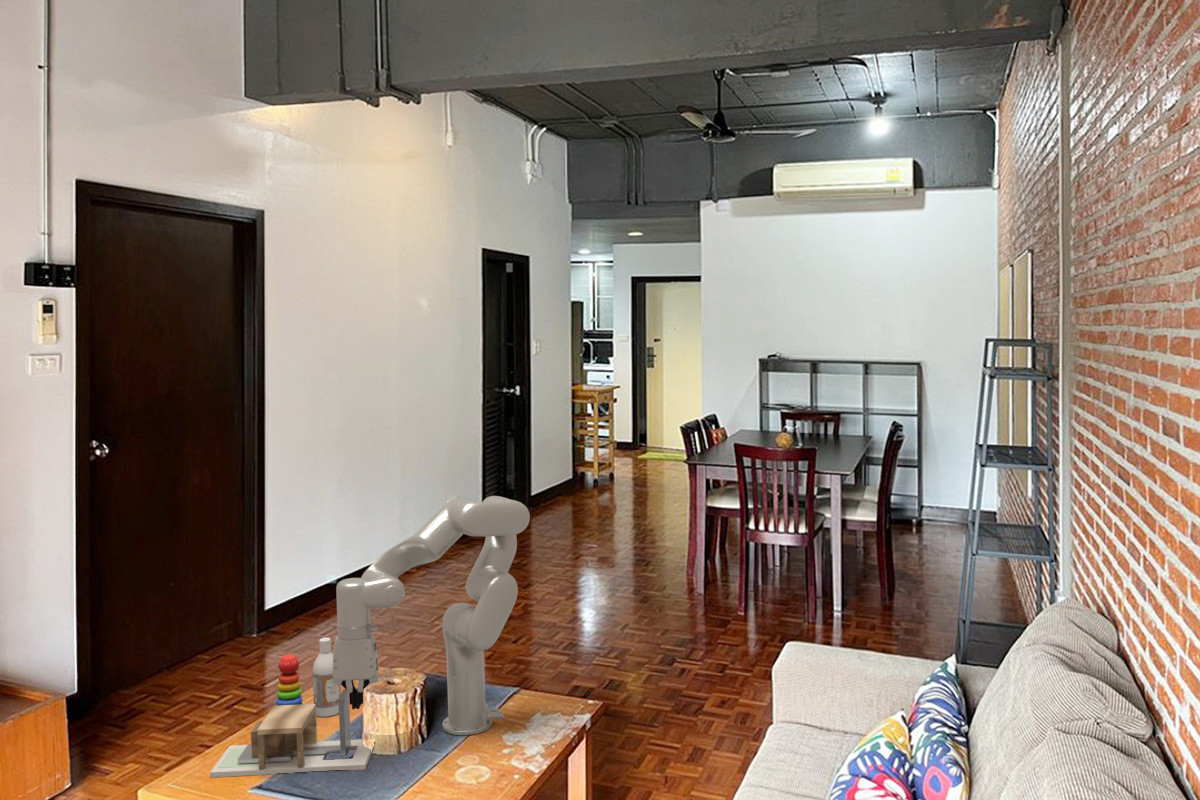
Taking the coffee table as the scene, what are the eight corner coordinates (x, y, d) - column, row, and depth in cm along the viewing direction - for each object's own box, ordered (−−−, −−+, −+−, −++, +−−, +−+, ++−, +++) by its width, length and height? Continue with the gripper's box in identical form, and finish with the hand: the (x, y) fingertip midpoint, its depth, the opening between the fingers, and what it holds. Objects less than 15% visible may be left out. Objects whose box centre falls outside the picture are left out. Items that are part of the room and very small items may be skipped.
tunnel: (317, 741, 230) (315, 703, 230) (303, 767, 216) (301, 727, 216) (275, 743, 230) (274, 705, 229) (259, 769, 216) (257, 729, 215)
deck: (375, 743, 231) (375, 738, 231) (365, 769, 217) (364, 764, 217) (229, 750, 229) (229, 745, 229) (210, 777, 215) (209, 772, 215)
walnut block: (284, 744, 226) (283, 720, 225) (278, 755, 220) (277, 730, 219) (259, 745, 225) (258, 721, 225) (251, 756, 219) (250, 731, 219)
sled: (351, 743, 228) (349, 687, 227) (345, 758, 220) (342, 700, 219) (248, 748, 226) (245, 691, 225) (237, 763, 218) (234, 705, 217)
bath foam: (322, 719, 246) (319, 645, 245) (309, 712, 251) (306, 639, 250) (346, 712, 251) (343, 638, 250) (333, 705, 256) (330, 633, 255)
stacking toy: (287, 735, 237) (284, 662, 236) (266, 728, 241) (263, 657, 240) (312, 723, 244) (309, 653, 243) (291, 717, 248) (288, 648, 247)
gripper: (388, 625, 226) (390, 699, 228) (325, 627, 225) (328, 702, 226) (383, 635, 219) (386, 712, 220) (318, 637, 218) (321, 714, 219)
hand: (356, 706), depth 223 cm, fingers closed
